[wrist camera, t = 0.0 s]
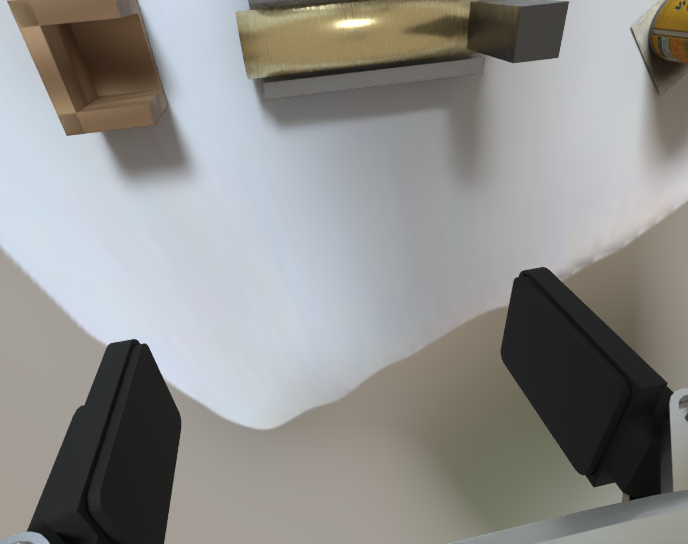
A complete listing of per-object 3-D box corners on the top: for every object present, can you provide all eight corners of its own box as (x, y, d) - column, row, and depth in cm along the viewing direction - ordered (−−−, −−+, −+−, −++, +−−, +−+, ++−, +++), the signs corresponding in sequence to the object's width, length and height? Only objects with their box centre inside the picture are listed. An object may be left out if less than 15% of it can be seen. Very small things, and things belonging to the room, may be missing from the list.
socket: (45, -3, 30) (6, 0, 25) (133, -11, 31) (112, -9, 26) (92, 114, 35) (66, 135, 30) (167, 105, 35) (155, 124, 31)
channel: (245, -21, 32) (244, -21, 29) (474, -42, 34) (494, -44, 31) (264, 93, 36) (265, 102, 34) (466, 69, 38) (482, 75, 36)
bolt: (236, 9, 32) (231, 21, 23) (489, -15, 34) (579, -14, 25) (248, 73, 34) (248, 107, 25) (483, 46, 37) (563, 68, 27)
